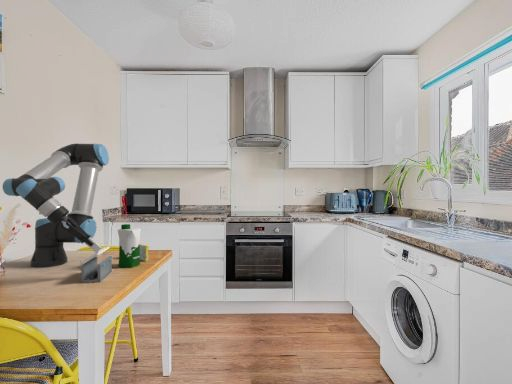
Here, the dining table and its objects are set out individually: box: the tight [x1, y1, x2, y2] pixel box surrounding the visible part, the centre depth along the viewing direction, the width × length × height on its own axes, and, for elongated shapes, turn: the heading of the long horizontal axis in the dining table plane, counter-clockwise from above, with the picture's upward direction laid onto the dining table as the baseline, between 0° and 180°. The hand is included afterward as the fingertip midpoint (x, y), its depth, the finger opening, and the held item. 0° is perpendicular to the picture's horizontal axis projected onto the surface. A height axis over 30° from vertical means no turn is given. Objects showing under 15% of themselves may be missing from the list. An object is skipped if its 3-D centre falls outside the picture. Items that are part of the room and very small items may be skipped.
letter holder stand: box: [80, 255, 113, 284], centre depth 128 cm, size 16×8×7 cm, turn 11°
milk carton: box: [117, 223, 142, 269], centre depth 147 cm, size 9×9×20 cm
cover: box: [80, 246, 110, 265], centre depth 128 cm, size 16×7×1 cm, turn 11°
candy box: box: [140, 244, 150, 263], centre depth 161 cm, size 16×2×8 cm, turn 58°
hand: (98, 250), depth 129 cm, fingers closed
